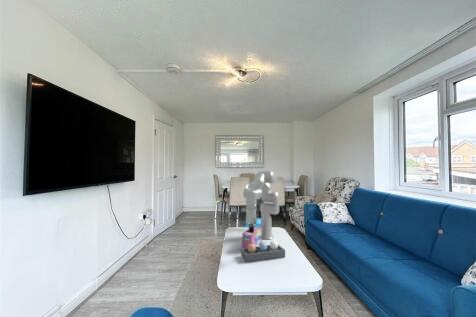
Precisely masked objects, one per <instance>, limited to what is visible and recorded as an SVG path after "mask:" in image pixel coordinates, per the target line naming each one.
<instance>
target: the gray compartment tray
mask: <svg viewBox="0 0 476 317" xmlns="http://www.w3.org/2000/svg"><path fill="white" fill-rule="evenodd" d="M240 256H241V258H242V257H243V258H242V259H243V261H245V263H247V264H248V263H255V262H261V261H269V260H276V259H283V258H284V259H285V258H286V249H285V248H284V247H283V246H281V245H280V244H278V250H275V251H271V250H270V244H267V252H260V251H259V246H257V247H255V253H252V254H248V248H242V247H241V248H240Z"/></svg>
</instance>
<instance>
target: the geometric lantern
mask: <svg viewBox="0 0 476 317" xmlns="http://www.w3.org/2000/svg"><path fill="white" fill-rule="evenodd" d="M256 201H257V205H256V206H257V209H256V224H255V225H256V226H257V227H258V228H260V227H261V223H258V215H257V214H258V212H257V211H259V210H260V206H261V204H263V203H265V202H264V201H262V198H260V199H256ZM245 203H246V200H245ZM258 225H259V226H258ZM246 226H247V228H248V229H249V223H248V222H246Z"/></svg>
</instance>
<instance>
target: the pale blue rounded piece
mask: <svg viewBox="0 0 476 317" xmlns="http://www.w3.org/2000/svg"><path fill="white" fill-rule="evenodd" d="M267 245H268V244H267V243H266V242H265V241H263V242H262V241H261V243H259V251H260V252H267Z"/></svg>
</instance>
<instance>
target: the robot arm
mask: <svg viewBox="0 0 476 317" xmlns="http://www.w3.org/2000/svg"><path fill="white" fill-rule="evenodd" d="M277 180H278V178H277V174H275V173H274V172H273V171H270V170H261V171H260V170H259V171H258V172H257V173H256V175H255V178H254V179H253V180H252V181H250V182H248V183H247V184H246V185H245V186H244V189H243V192H242V195H243V198H245V201H246V202H245V208H246V210H245V211H246V212H245V222H246V223H247V222H248V224H249V225H248V227H249V228H248V230H249V233H254V226H255V227H256V225H257V224H256V210H258V209H257V208H258V204H257V202H258V201H256V199H257V200H258V199H259V200H260V199H261V201H264V203H263V204H260V205H261V206H259V208H260V209H259V211H260V226H261V240H272V239H274V235H272V233H273V232H272V225H273V224H272V216H271V215H278V214H280V196H279V193H278V192H276V191H271V188H272V186H271V184H275V183H277ZM256 205H257V206H256Z"/></svg>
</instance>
